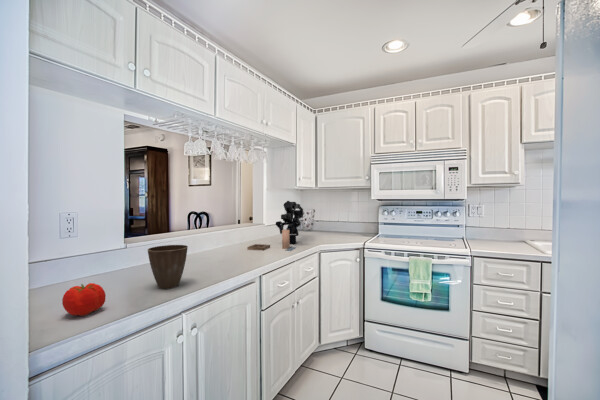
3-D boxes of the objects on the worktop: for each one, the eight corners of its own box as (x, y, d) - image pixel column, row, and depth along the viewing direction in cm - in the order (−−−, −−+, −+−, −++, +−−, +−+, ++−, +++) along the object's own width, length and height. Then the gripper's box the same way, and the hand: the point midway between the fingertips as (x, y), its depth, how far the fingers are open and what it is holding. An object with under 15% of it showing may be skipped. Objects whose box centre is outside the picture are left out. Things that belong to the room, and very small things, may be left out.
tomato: (57, 323, 81) (57, 293, 81) (70, 309, 91) (69, 283, 91) (101, 316, 85) (101, 288, 85) (108, 304, 95) (108, 278, 95)
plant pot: (139, 289, 110) (139, 249, 110) (170, 279, 124) (170, 243, 124) (166, 294, 104) (165, 252, 104) (195, 283, 118) (195, 245, 118)
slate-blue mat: (281, 247, 203) (281, 246, 203) (295, 248, 200) (295, 247, 200) (275, 250, 192) (275, 249, 192) (290, 250, 189) (290, 250, 189)
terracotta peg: (281, 247, 198) (281, 229, 198) (288, 247, 199) (288, 229, 199) (283, 249, 193) (283, 230, 193) (290, 248, 194) (290, 230, 194)
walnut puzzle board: (255, 247, 203) (255, 244, 203) (270, 248, 199) (270, 244, 199) (247, 250, 191) (247, 246, 191) (263, 251, 188) (263, 247, 188)
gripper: (273, 211, 210) (269, 229, 200) (295, 207, 202) (292, 226, 193) (280, 219, 217) (277, 236, 208) (302, 216, 210) (299, 234, 200)
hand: (286, 233), depth 202 cm, fingers open, 9 cm apart
